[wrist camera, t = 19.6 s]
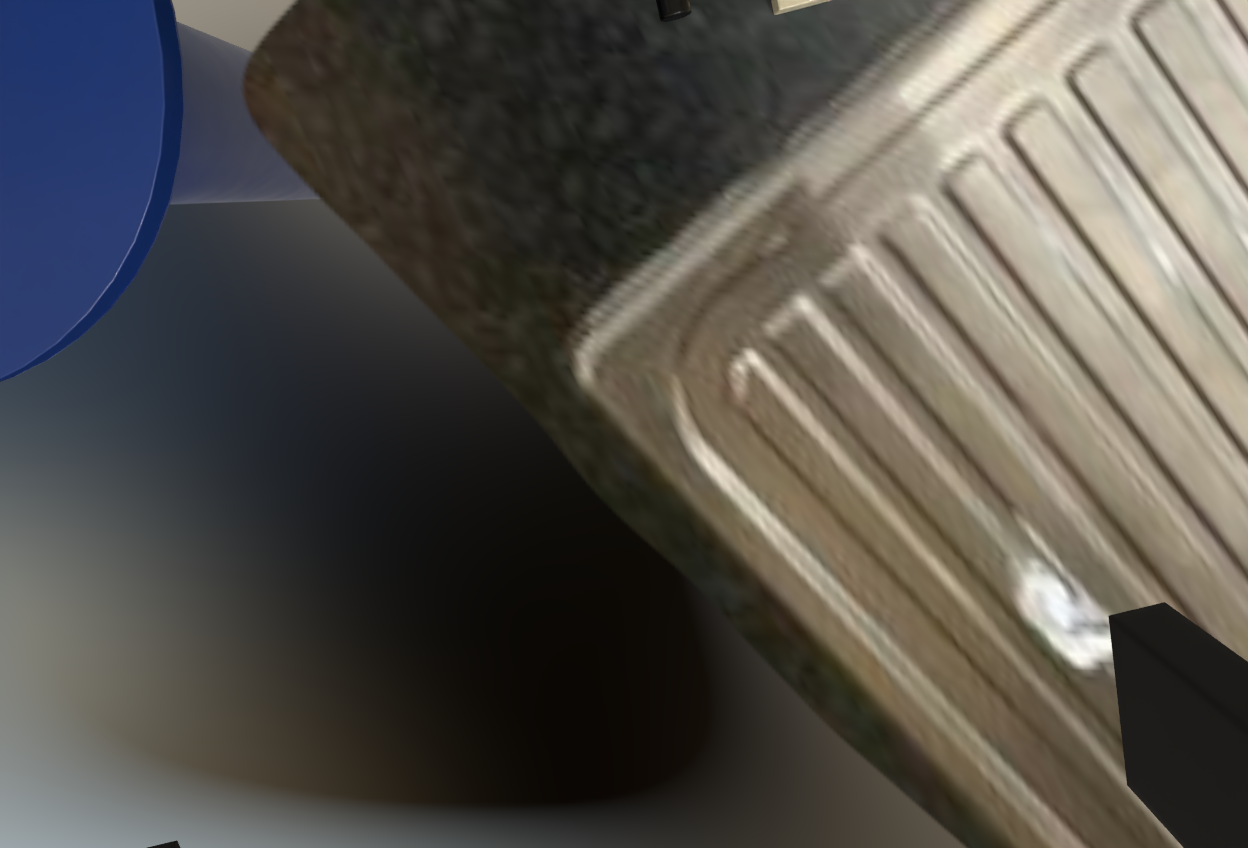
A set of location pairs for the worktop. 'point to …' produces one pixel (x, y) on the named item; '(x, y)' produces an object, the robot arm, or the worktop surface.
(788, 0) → the bracket
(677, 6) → the lever
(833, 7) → the worktop surface
